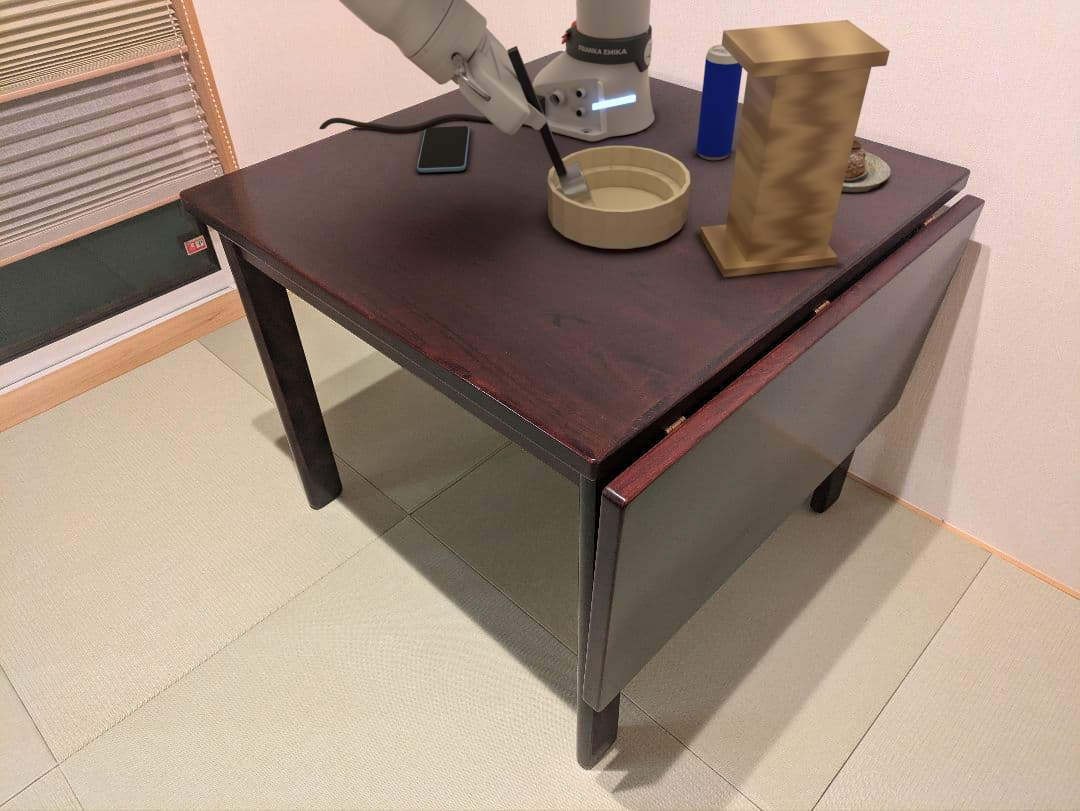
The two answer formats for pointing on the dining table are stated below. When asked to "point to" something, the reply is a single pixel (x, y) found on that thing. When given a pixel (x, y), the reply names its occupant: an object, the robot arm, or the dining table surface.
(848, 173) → the pastry
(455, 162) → the smartphone
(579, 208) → the bowl
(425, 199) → the dining table surface
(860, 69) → the wooden column stand
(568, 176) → the black handled spatula
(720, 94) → the beverage can
